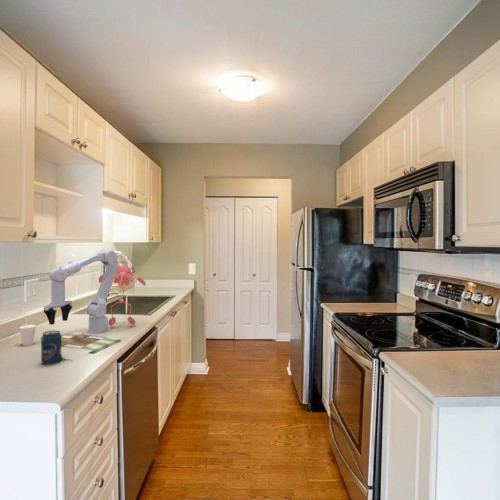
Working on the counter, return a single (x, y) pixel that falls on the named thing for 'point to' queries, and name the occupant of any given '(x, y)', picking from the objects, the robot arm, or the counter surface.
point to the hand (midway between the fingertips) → (58, 322)
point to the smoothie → (27, 334)
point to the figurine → (123, 278)
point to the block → (72, 337)
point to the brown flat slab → (94, 343)
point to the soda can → (51, 347)
